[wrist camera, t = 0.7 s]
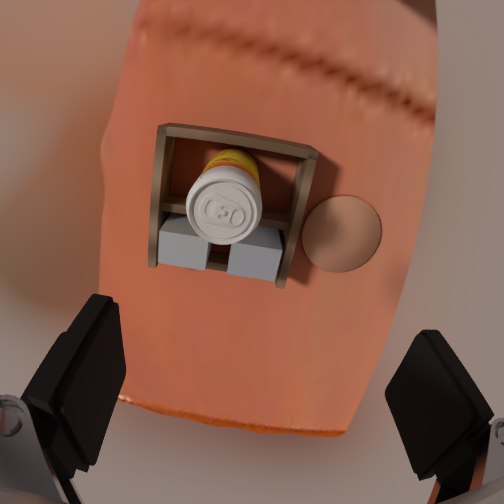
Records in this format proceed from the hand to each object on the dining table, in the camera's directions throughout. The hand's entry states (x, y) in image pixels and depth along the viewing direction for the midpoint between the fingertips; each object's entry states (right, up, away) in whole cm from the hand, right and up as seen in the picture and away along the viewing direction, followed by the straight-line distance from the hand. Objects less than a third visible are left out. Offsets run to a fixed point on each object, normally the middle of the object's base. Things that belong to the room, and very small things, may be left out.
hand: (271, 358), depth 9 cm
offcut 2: (0, +5, +32) cm, 32 cm away
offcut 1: (-8, +6, +31) cm, 33 cm away
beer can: (-3, +13, +28) cm, 31 cm away
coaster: (+11, +5, +32) cm, 34 cm away
